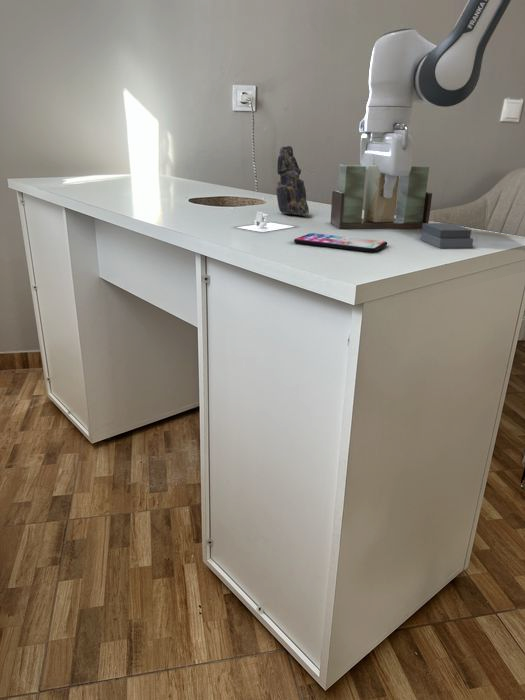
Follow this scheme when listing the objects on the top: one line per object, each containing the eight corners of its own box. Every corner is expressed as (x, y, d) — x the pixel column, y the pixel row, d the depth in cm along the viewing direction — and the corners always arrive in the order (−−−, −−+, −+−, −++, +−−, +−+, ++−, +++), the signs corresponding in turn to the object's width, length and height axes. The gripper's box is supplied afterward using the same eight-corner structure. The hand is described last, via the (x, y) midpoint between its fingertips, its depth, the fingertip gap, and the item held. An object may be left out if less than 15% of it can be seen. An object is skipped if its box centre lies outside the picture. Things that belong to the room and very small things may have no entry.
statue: (295, 218, 124) (298, 147, 119) (270, 211, 134) (271, 145, 129) (316, 217, 127) (320, 147, 121) (290, 210, 137) (292, 145, 131)
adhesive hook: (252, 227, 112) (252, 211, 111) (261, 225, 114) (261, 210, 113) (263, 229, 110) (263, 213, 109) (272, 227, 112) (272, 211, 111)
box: (374, 223, 114) (379, 166, 110) (362, 220, 117) (367, 164, 113) (395, 221, 116) (401, 165, 112) (382, 218, 119) (388, 164, 115)
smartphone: (374, 249, 90) (291, 239, 97) (374, 253, 90) (291, 243, 97) (389, 241, 96) (310, 232, 103) (388, 245, 96) (310, 236, 103)
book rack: (414, 222, 122) (421, 165, 117) (428, 228, 115) (435, 167, 111) (330, 223, 119) (334, 164, 114) (339, 228, 112) (343, 166, 108)
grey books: (451, 239, 103) (453, 223, 102) (472, 247, 96) (474, 230, 95) (420, 239, 103) (422, 223, 101) (439, 248, 95) (441, 230, 94)
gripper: (425, 123, 100) (415, 201, 106) (385, 124, 119) (379, 190, 124) (391, 122, 100) (384, 202, 105) (357, 123, 118) (352, 190, 123)
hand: (381, 195), depth 115 cm, fingers closed on box, 5 cm apart
